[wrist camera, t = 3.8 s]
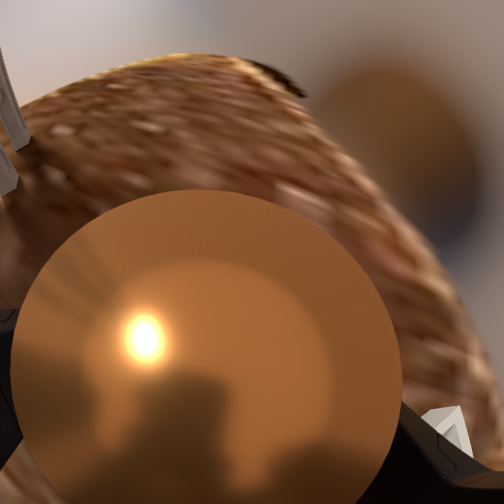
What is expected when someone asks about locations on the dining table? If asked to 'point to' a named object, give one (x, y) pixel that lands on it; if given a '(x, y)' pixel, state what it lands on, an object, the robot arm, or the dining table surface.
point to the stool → (10, 130)
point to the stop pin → (205, 359)
